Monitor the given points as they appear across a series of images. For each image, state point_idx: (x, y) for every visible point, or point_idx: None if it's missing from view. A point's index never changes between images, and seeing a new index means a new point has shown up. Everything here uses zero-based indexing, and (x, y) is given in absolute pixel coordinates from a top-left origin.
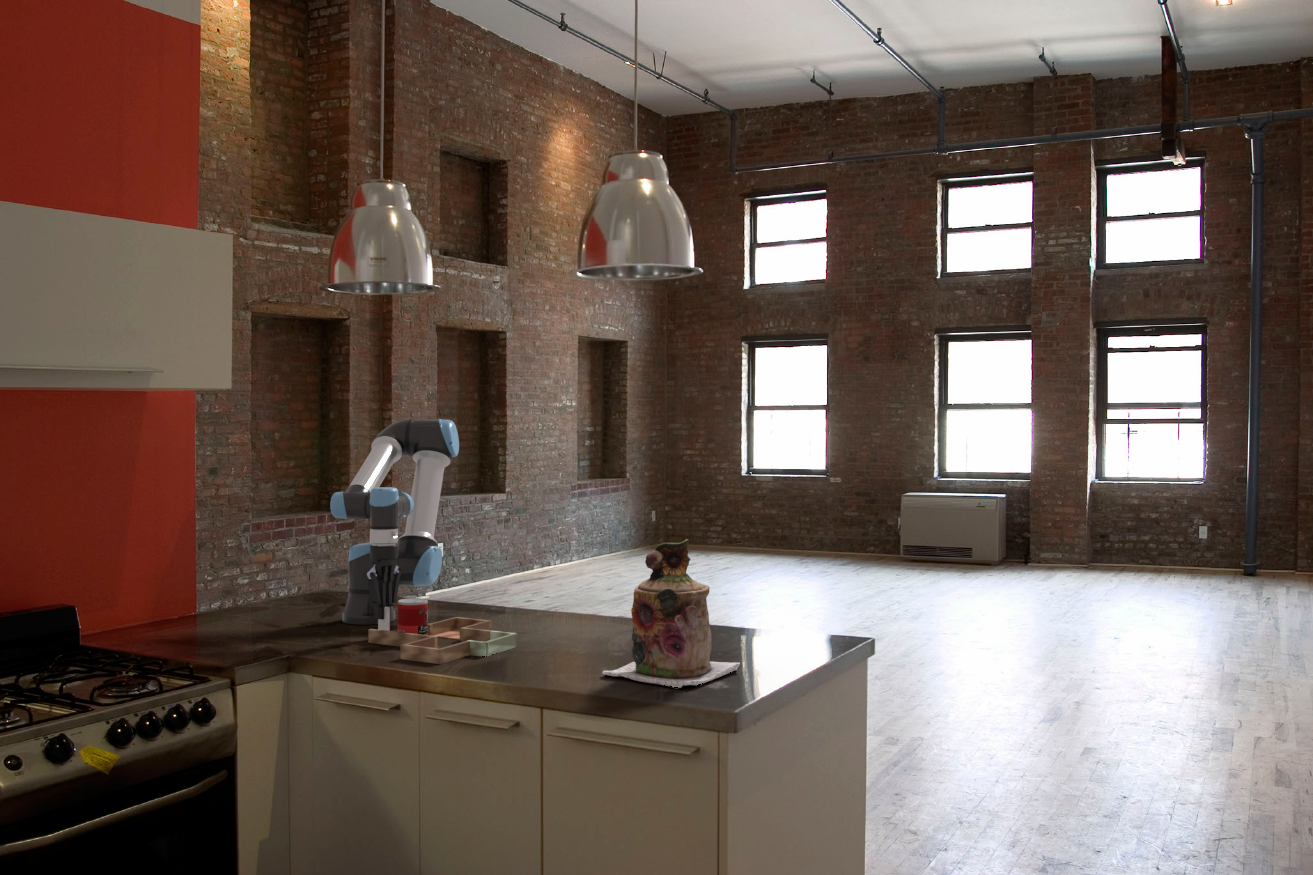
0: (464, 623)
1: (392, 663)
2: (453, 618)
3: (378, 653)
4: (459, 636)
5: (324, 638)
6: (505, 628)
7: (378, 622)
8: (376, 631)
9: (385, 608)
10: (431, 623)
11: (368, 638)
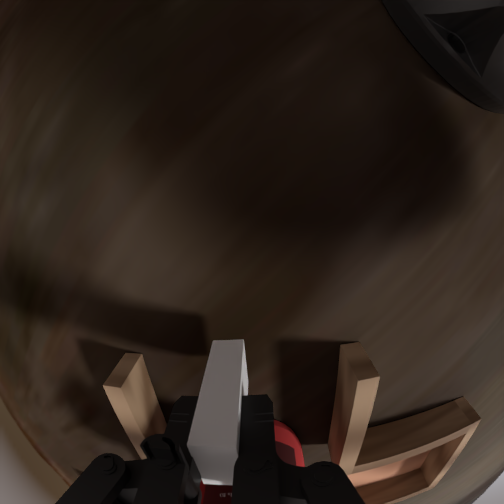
0: (449, 442)
1: (77, 474)
2: (457, 435)
3: (83, 438)
4: (357, 477)
5: (74, 122)
6: (472, 442)
7: (206, 369)
8: (120, 416)
9: (204, 476)
10: (361, 466)
11: (119, 361)
